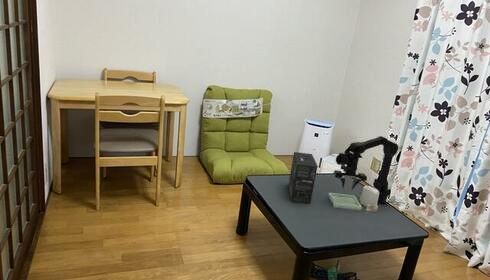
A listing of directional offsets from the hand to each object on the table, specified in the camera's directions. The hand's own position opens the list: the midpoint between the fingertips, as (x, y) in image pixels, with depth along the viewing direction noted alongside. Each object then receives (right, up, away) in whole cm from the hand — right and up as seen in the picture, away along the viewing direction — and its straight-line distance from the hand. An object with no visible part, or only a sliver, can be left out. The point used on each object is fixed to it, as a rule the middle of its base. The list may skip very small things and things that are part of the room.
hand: (347, 188), depth 225 cm
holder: (+13, -11, +3) cm, 17 cm away
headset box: (-28, -5, +7) cm, 29 cm away
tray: (-1, -9, +3) cm, 10 cm away
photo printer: (+13, -11, +3) cm, 18 cm away
